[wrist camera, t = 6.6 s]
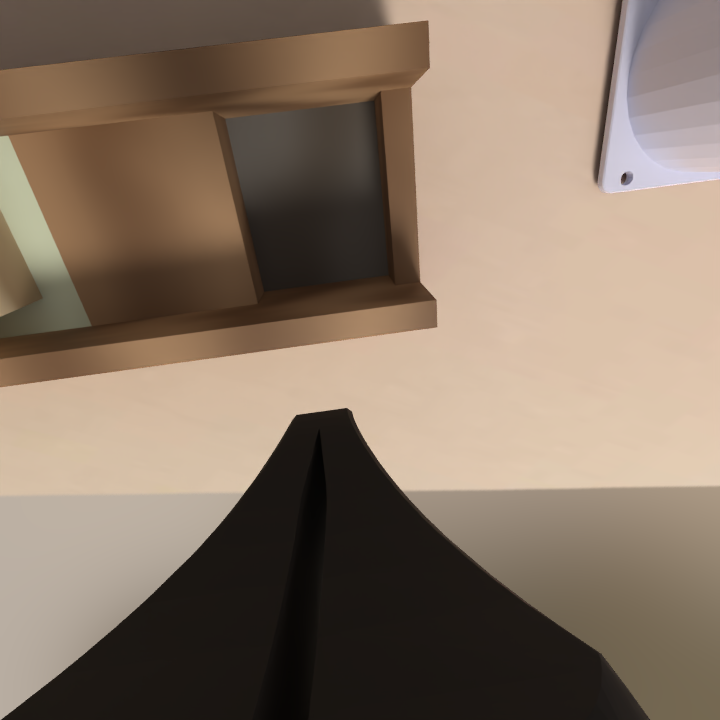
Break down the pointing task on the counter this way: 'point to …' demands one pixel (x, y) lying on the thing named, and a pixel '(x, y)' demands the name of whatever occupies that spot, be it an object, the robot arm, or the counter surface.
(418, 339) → the counter surface
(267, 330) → the channel
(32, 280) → the birch block
